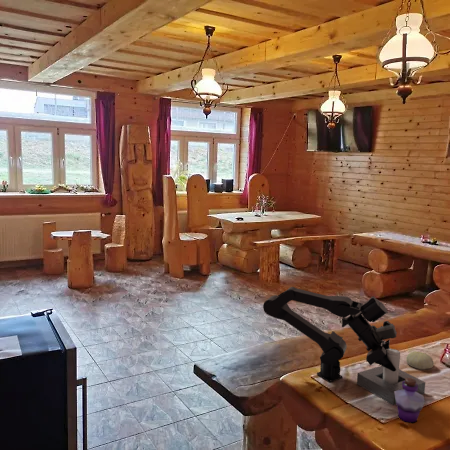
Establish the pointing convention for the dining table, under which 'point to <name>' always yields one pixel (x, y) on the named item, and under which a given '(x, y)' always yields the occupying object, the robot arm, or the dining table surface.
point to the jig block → (385, 383)
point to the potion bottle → (409, 401)
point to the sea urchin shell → (419, 360)
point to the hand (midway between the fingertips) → (395, 367)
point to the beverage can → (395, 359)
